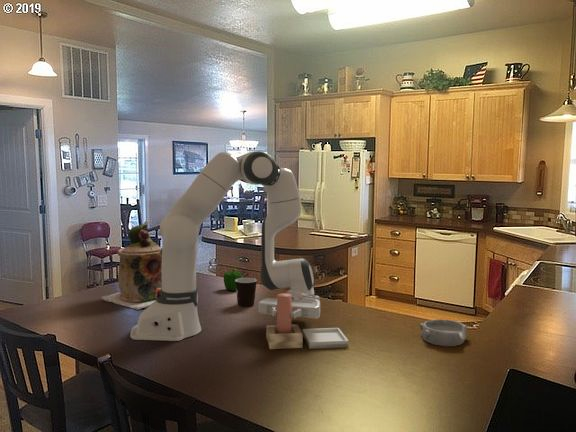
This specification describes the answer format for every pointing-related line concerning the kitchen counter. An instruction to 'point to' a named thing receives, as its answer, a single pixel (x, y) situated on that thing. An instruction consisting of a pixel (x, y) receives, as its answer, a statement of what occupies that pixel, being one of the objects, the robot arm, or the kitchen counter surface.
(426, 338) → the dish
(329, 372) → the kitchen counter surface
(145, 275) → the cookie jar
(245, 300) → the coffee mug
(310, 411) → the kitchen counter surface
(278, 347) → the socket block
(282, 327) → the dowel
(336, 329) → the tray
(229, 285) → the bell pepper
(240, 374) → the kitchen counter surface
